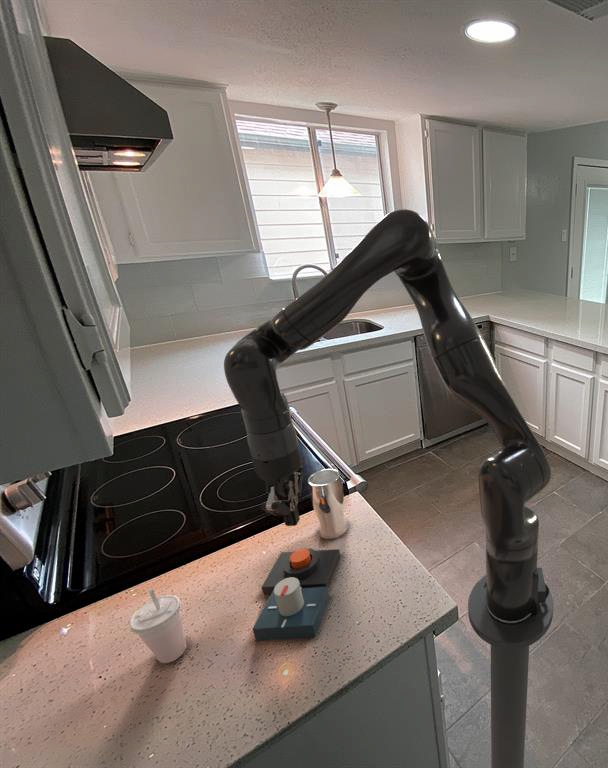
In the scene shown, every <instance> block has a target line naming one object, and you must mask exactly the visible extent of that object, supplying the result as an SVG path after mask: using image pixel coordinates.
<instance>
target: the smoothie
mask: <svg viewBox="0 0 608 768" xmlns="http://www.w3.org/2000/svg"><path fill="white" fill-rule="evenodd" d="M147 591H148V593H149V596H150V598H151V600H150V601H148V602H146V603H145V604H143V605H141V606H140V607H139V608H138V609H137V610H136V611H135V612H134V613H133V614H132V615H131V617H130V620H129V623H128V625H129V629H130V631H131V633H133V634H135V635H137V636H138V637H139V638H140V639H141V640H142V642H143V643H144V644H145V646H146V647H148V649H149V650H150V651H151V653H152V654H153V655H154V656H155V657H156V659H157V660H158V661H159V662H160V663H161V664H168V663H172V662H175V661H176V660H177V659H179V658H180V657H181V656H182V655H184V654H185V652H186V649H187V641H186V636H185V631H184V623H183V620H182V619H183V618H182V613H181V610H182V603H181V601H180V599H179V597H178V596H175V595H171V594H169V595H162V596H159V597H157V594H156V592H155V590H154V588H153V587H151V588H149V589H148V590H147Z"/></svg>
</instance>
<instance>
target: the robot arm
mask: <svg viewBox="0 0 608 768" xmlns="http://www.w3.org/2000/svg"><path fill="white" fill-rule="evenodd" d="M391 273H395V275H396V276H397V278H398V279H399V281H400V282H401V284H402V286H403V287H404V288H405V291H406V292H407V294H408V295H409V297H410V299H411V301H412V302H413V304H414V307H415V308H416V311H417V314H418V316H419V320H420V324H421V328H422V332H423V337H424V339H425V340H424V341H425V343H426V346H427V349H428V352H429V355H430V357H431V359H432V361H433V364H434V366H435V368H436V370H437V371H438V374H439V376H440V379H441V381H442V383H443V384H444V386H445V387H446V389H447V390H448V391H449V392H450V393H451V395H453V397H455V398H456V399H457V400H458V401H460V402H461V403H463V404H464V405H465V406H467V407H468V408H469V409H471V410H472V411H473V412H475V413H476V414H478V415H479V416H480V417H481V418H482V419H483V420H484V421H485V422H486V423H487V424H488V425H489V427H490V428H491V430H492V431H493V433H494V435H495V436H496V438H497V440H498V443H499V444H500V446H501V450H499V451H497V452H496V453H494V454H493V455H491V456H489V457H488V458H486V459H485V460H484V461H482V463H481V464H480V467H479V470H478V494H479V506H480V515H481V519H482V522H483V525H484V528H485V575H486V582H485V584H484V589H485V586H486V607H487V610H488V612H489V614H490V615H491V616H492V617H493V618H494V619H495V620H496V621H498V622H500V623H503V624H508V625H514V624H519V623H522V622H524V621H526V620H527V619H528V618H529V617H530V616H532V615H537V603H538V602H546V598H547V597H548V595H549V590H550V588H549V586H548V585H547V583H546V582H545V578H544V577H545V576H544V572H543V568H542V567H538V553H539V552H538V551H539V535H540V534H539V533H540V520H539V517H538V515H537V513H536V511H534V510H533V509H532V508H531V507H529V506H528V505H526V504H527V503H528V502H529V501H531V500H532V499H533V498H534V497H536V496H537V495H538V494H540V492H542V491H543V490H545V488H546V487H547V486H548V485H549V484H550V482H551V478H552V471H551V465H550V462H549V459H548V457H547V455H546V453H545V451H544V449H543V447H542V445H541V443H540V442H539V440H538V438H537V437H536V435H535V434H534V432H533V431H532V429H531V427H530V426H529V424H528V422H527V421H526V420H525V418H524V416H523V414H522V413H521V410H520V409H519V408H518V406H517V404H516V402H515V400H514V398H513V396H512V394H511V392H510V390H509V388H508V387H507V385H506V383H505V381H504V379H503V377H502V375H501V373H500V371H499V368H498V366H497V364H496V362H495V359H494V358H493V355H492V353H491V351H490V349H489V347H488V345H487V343H486V340H485V339H484V336H483V334H482V333H481V331H480V329H479V327H478V325H477V324H476V323H475V321H474V319H473V317H472V316H471V314H470V313H469V311H468V310H467V308H466V307H465V306H464V304H463V303H462V302H461V300H460V299H459V297H458V295H457V293H456V292H455V289H454V288H453V285H452V283H451V280H450V278H449V276H448V273H447V270H446V267H445V263H444V260H443V259H442V256H441V252H440V249H439V245H438V242H437V240H436V238H435V236H434V234H433V231H432V229H431V227H430V225H429V223H428V222H427V220H426V219H425V218H424V216H422V215H421V214H420V213H419V212H416V211H414V210H412V209H406V208H404V209H403V208H401V209H397V210H393V211H391V212H389V213H387V214H386V215H385V216H384V217H383V218H381V219H380V220H379V221H378V222H377V223H376V224H375V225H374V226H373V227H372V228H371V229H370V230H369V232H367V233H366V234H365V236H364V237H362V239H361V240H360V241H359V242H358V243H357V244H356V245H355V246H354V247H353V248H352V250H350V251H349V252H348V253H347V254H346V255H345V256H344V257H343V259H341V260H340V262H338V263H337V264H336V265H335V266H334V267H333V268H332V269H331V270H330V271H329V272H328V273H327V274H326V275H324V276H323V277H322V278H321V279H320V280H319V281H317V282H316V284H314V285H313V286H312V287H311V288H309V289H308V290H306V291H305V292H303V294H301V295H299V296H298V297H297V298H295V299H294V300H293V301H292V302H290V303H289V304H287V305H286V306H285V307H284V308H282V309H281V310H280V311H278V312H277V314H275V315H274V316H273V317H272V318H271V319H269V320H267V321H266V322H264V323H263V324H261V325H259V326H258V327H256V328H255V329H253V330H252V331H250V332H249V333H247V334H245V335H244V336H243V337H241V338H240V339H239V340H238V341H237V342H236V343H235V344H234V345H233V346H232V347H231V348H230V350H228V352H227V353H226V355H225V357H224V360H223V370H224V377H225V379H226V382H227V384H228V387H229V389H230V391H231V393H232V394H233V397H234V399H235V401H236V402H237V404H238V405H239V407H240V411H241V416H242V419H243V424H244V427H245V432H246V440H247V445H248V449H249V453H250V457H251V461H252V465H253V468H254V472H255V475H256V476H257V477H258V478H259V479H261V480H263V481H264V482H265V492H266V494H267V495H268V497H267V501H265V502H262V503H261V506H260V507H261V510H262V511H264V512H266V513H268V514H270V515H272V516H282V517H283V522H284V525H285V526H287V527H295V526H297V525H298V523H299V521H300V520H301V518H300V514H299V509H298V505H299V498H300V497H301V496H302V489H303V479H304V469H305V468H304V465H303V460H302V455H301V450H300V445H299V441H298V435H297V431H296V428H295V426H294V423H293V420H292V414H291V410H290V404H289V402H288V399H287V396H286V394H285V393H284V392H283V391H281V389H280V384H279V381H278V377H277V370H278V368H279V367H280V366H281V365H282V364H283V363H285V361H286V360H287V359H289V358H290V357H291V356H293V355H294V354H295V353H297V352H299V351H304V350H306V349H308V348H309V347H311V346H313V345H314V344H315V343H317V342H318V341H319V340H321V339H322V338H324V337H325V336H326V335H327V334H329V333H330V332H331V331H333V330H334V329H335V328H336V327H338V326H339V325H340V324H341V323H342V322H343V321H344V320H345V318H346V317H347V316H348V315H349V314H350V312H351V311H352V310H353V308H354V307H355V306H356V304H357V302H358V301H359V300H360V299H361V298H362V296H363V295H365V294H366V292H368V290H369V289H370V288H371V287H373V286H374V285H375V284H377V282H379V281H380V280H381V279H383V278H385V277H387V276H388V275H390V274H391Z"/></svg>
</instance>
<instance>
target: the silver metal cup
mask: <svg viewBox="0 0 608 768" xmlns="http://www.w3.org/2000/svg"><path fill="white" fill-rule="evenodd" d="M307 485H308V493H309V499H310V502H311V505H312V508H313V510H314V512H315V515H316V516H317V519H318V521H319V535H320V537H321V538H322V539H326V540H334V539H338V538H340V537H341V536H343V535H344V534H345V533H346V532H347V531H348V527H349V526H348V523H347V520H346V519H345V515H344V514H345V513H344V510H345V509H344V507H345V491H344V486H343V485H344V484H343V481H342V478H341V473H340V471H338V470H337V469H335V468H325V469H320V470H317V471H315V472H313V473H311V474H310V476H309V477H308V479H307Z"/></svg>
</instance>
